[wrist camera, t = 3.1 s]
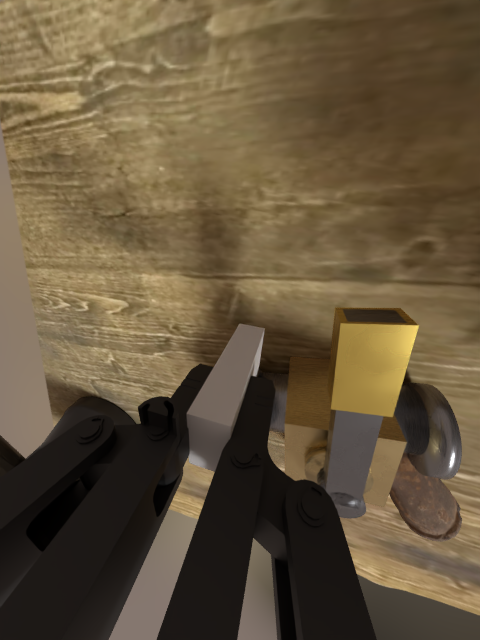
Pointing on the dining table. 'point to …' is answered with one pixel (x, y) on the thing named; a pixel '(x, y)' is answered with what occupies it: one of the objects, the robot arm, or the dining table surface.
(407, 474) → the pipe
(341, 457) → the lever
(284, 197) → the dining table surface
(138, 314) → the dining table surface
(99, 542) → the robot arm
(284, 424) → the valve body
